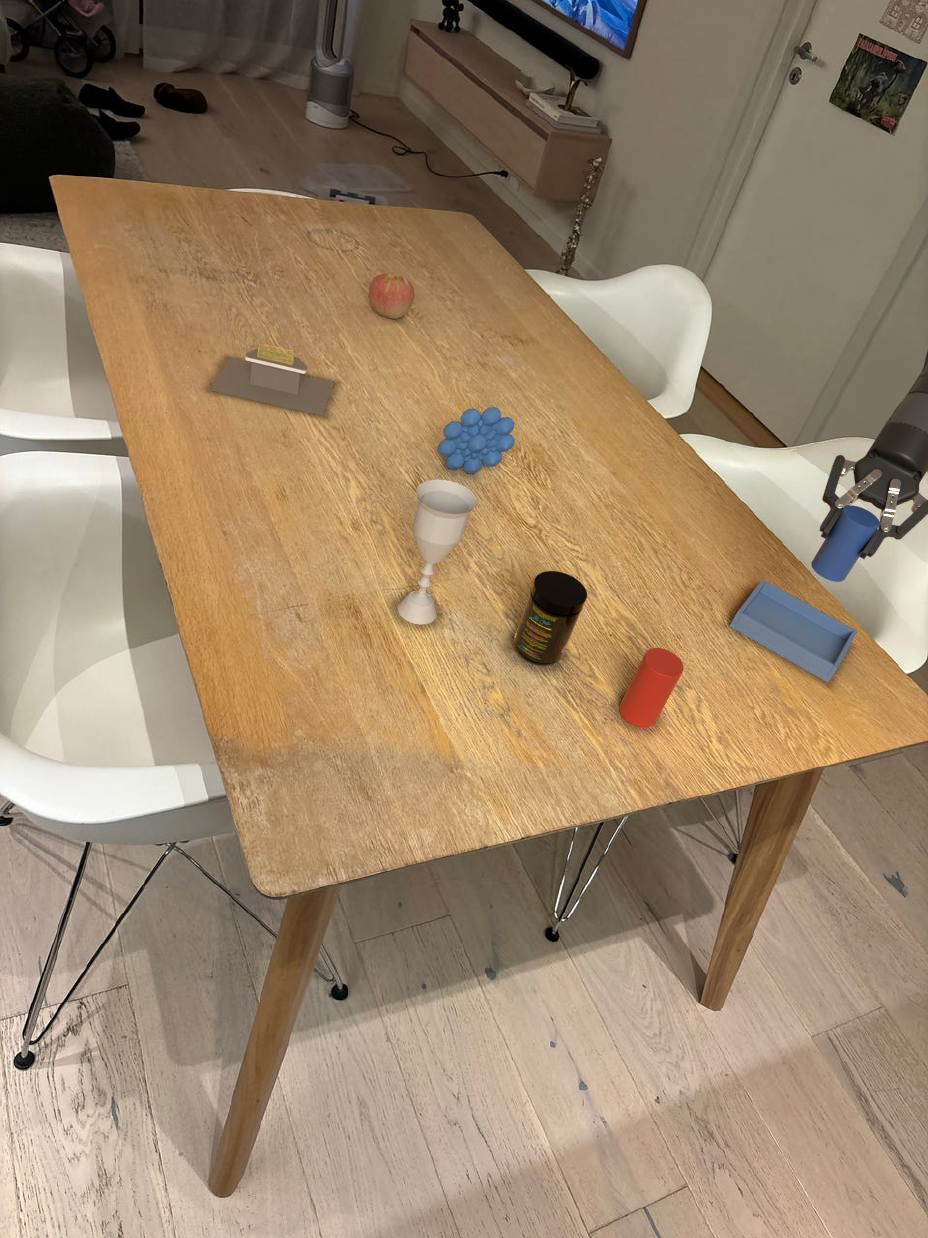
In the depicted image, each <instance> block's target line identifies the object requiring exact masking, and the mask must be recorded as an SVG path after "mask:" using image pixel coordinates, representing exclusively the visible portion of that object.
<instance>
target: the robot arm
mask: <svg viewBox="0 0 928 1238" xmlns="http://www.w3.org/2000/svg"><path fill="white" fill-rule="evenodd" d="M851 471H853V472H852V473H853V479H854V480H853V481H854V485H853V486H852V487H851V488H849V489H848V490H847V492H845V493H844V494H842V495H841V496H840V497H839V496H838V495H837V493H836V490H837V488H838V484H839V481H840V478H841V477H845V476H847V474H848V473H849V472H851ZM927 472H928V349H927V350H926V354H925V357H924V360H923V364H922V367H921V371H920V373H919V375H918V376H917V377H916V379H915V381H914V382H913V384H912V385H911V387H910V388H909V390H908V392H907V393H906V395H905V396H904V398H903V399H902V400H901V401H900V402H899V404H898V405H897V406H896V407H895V409H894V410H893V412H892V413H891V414H890V416H889V417H888V419H887V420H886V422H885V424H884V425H883V427H882V429H881V430H880V432H879V433H878V435H877V436H876V438H875V439H874V441H873V443H872V445H870V447H869V449H868V451H867V452H866V454H865V455H864V456H863V457H862V458H860V459H858V460H857V461H854V460H849V459H846V457H845V456H844V455H842V454H838V455H836V456H835V458H834V460H833V463H832V464H831V469H830V472H829V475H828V478H827V482H826V485H825V488H824V491H823V494H822V497H821V498H822V499H821V500H822V502H823V503H825V504H827V506H829V511H828V513H827V514H826V516H825V517H824V519H823V520H822V522H821V524H820V526H819V532H821V535H820V537H821V538H823V539H824V540H825V539H826V537H827V536H828V534H829V533H830V531H831V529H832V528H833V526H834V524H835V523H836V521H837V519H838V518H839V516H840V514H841V512H842V511H843V509H844V508H845V507H846V506H849V505H853V504H854V503H856V502H857V501H858V500H861V501H863V502H865V503H869V504H872V505H873V506H874V507H875V508H877V509H878V510H880V514H879V521H880V525H879V527H878V529H877V530H876V531H875V533H874V534H873V536H872V538H871V539H870V541H869V542H868V544H867V545H866V547H865V548H864V550H863V552H862V553H861V555H860V556H859V558H860V559H862V560H866V558H867V557H868V558H872V557H873V556H874V555H875V554H876V553H877V551H878V550H879V548H880V546H881V545H882V543H883V541H884V540H885V539H887V538H894V539H895V540H897V541H899V540H901V539H903V538H904V537H905V536H906V535H907V534H908V533H909V532H910V531H912V530H913V529H914V528H915V527H916V526H917V525H918V524H919V523H920V522H922V520H924V518H925V517H926V516H928V499H927V498H926V497H925V496H924V495H922V493H920V484H921V482H922V480H923V479H924V477H925V475H926V474H927ZM910 501H912V502H913V504H912V506H911V512H912V514H910V515H909V516H908V517H907V518H906V519H905V520H904V521H903V522H901V523H900V525H897V524H893V522H894V517H895V513H896V509H897V507H898V506H901V505H902V504H906V503H907V502H910Z"/></svg>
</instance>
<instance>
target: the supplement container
mask: <svg viewBox="0 0 928 1238" xmlns="http://www.w3.org/2000/svg"><path fill="white" fill-rule="evenodd" d="M587 598H588V591H587V589H586V587H585V585H583V583H582V582H581V581H580V580H578V579H577V578H576V577H574V576H572V575H570V574H568V573H565V572H563V571H558V570H546V571H542V572H540V573H538V574H537V575H536V576H535V577H534V579H533V583H532V585H531V587H530V591H529V594H528V597H527V600H526V602H525V604H524V608H523V611H522V614H521V616H520V619H519V622H518V625H517V628H516V631H515V632H514V635H513V640H512V641H513V647H514V650H515V652H516V653H517V654H518V656H519V657H520V658H522V659H523V660H524V661H525V662H527V663H529V664H532V665H534V666H539V667H549V666H552V665H555V664H557V663H558V662H559V661H560V660H562V658H563V656H564V653H565V651H566V649H567V647H568V644H569V642H570V639H571V637H572V634H573V633H574V630H575V627H576V625H577V622H578V620H579V618H580V615H581V613H582V611H583V609H584V607H585V603H586V601H587Z"/></svg>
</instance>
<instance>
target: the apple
mask: <svg viewBox="0 0 928 1238" xmlns="http://www.w3.org/2000/svg"><path fill="white" fill-rule="evenodd" d="M414 299H415V289H414V285H413V284H412V282H411V280H410V279H409V278H408V277H406V276H404V275H402V274H400V273H399V274H398V273H394V272H385V273H380V274H378V275H376V276H375V277H374V278H372V280H371V282H370V284H369V287H368V300H369V303H370V306H371V308H372V309H373V310H374V311H375V312H376V313H377V314H378V315H380V316H382V317H385V318H386V319H387V318H388V319H392V320H398V319H400V318H403V317H404V316H405V315H407V313H408V312H409V311H410V309H411V307H412V305H413V303H414Z"/></svg>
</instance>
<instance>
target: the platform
mask: <svg viewBox="0 0 928 1238" xmlns="http://www.w3.org/2000/svg"><path fill="white" fill-rule="evenodd" d="M267 347H268V349H267ZM274 348H275V349H276V350H275V349H274ZM282 350H283V351H284V352H283V351H282ZM290 352H291V353H292V354H291V353H290ZM295 354H296V352H295V350H292V349H291V350H290V349H286V348H283V347H278V346H275V345H274V346H273V345H269V344H266V343H259V345H258V347H257V348H255V349H252V350H250V351H248V352H246V353H245V356H244V360H245V361H243V360H242V361H241V360H238V359H233V358H229V359H228V360H227V362H226V364H225V366H224V368H223V369H222V372H220V375H219V376H218V377H217V379H216V381H215V383H214V384H213V387H212V388H211V390H210V391H211V392H215V393H220V394H223V395H224V394H225V395H228V396H233V397H238V398H241V399H246V400H250V401H255V402H259V403H263V404H268V405H272V406H276V407H281V408H285V409H288V410H289V409H290V410H294V411H299V412H302V413H306V414H312V415H315V416H320V417H323V416H324V413H325V410H326V408H327V404H328V402H329V399H330V396H331V393H332V390H333V388H334V385H335V382H332V381H327V380H323V379H319V378H315V377H310V376H306V375H305V374H307V372H308V366H307V364H305V363H304V362H303V361H302V360H301V359H300V358H299V357H297V356H295ZM246 361H247V362H246ZM250 362H251V363H250ZM302 374H303V375H302Z"/></svg>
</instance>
